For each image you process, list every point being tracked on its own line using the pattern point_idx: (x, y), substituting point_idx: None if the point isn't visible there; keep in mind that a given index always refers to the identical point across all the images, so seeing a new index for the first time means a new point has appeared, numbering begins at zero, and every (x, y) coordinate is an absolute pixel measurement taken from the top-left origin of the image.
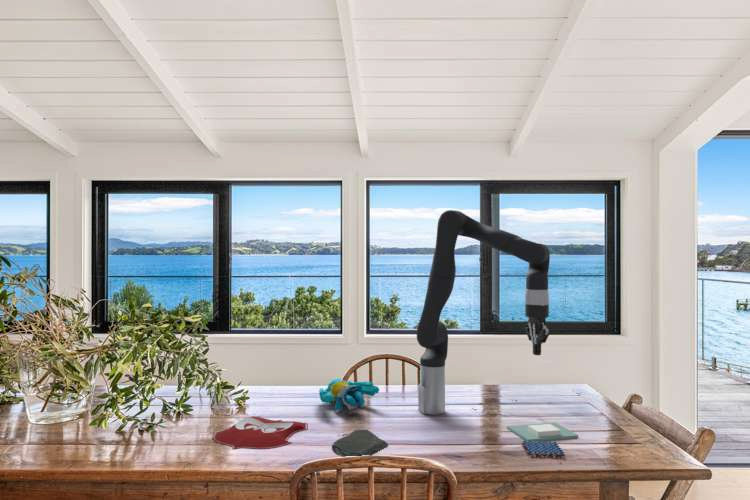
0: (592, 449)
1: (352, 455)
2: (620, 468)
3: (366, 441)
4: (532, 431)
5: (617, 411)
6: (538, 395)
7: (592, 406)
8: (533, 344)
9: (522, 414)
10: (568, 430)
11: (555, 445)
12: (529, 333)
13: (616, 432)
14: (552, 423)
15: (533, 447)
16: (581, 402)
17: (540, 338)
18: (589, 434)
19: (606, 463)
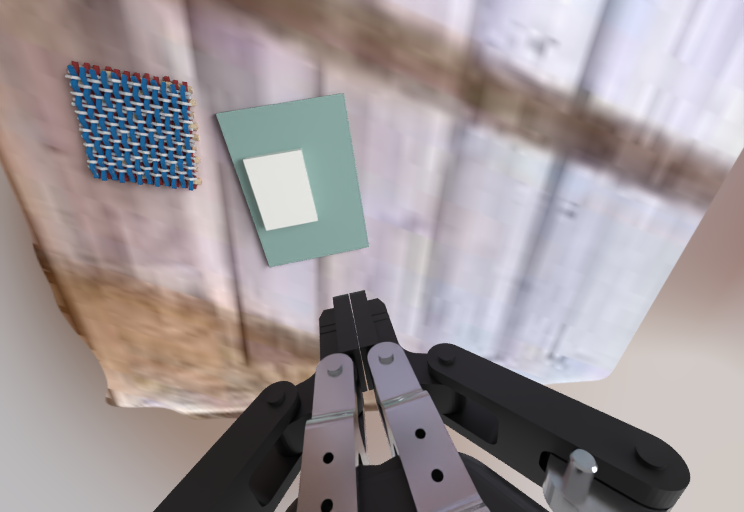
0: (189, 266)
1: None
2: (65, 280)
3: None
4: (275, 153)
5: None
6: (582, 280)
7: None
8: (364, 341)
9: (457, 189)
10: (304, 257)
11: (163, 178)
12: (489, 406)
13: (310, 347)
14: (360, 237)
15: (124, 99)
16: (505, 347)
17: (215, 450)
18: (296, 295)
19: (92, 263)
